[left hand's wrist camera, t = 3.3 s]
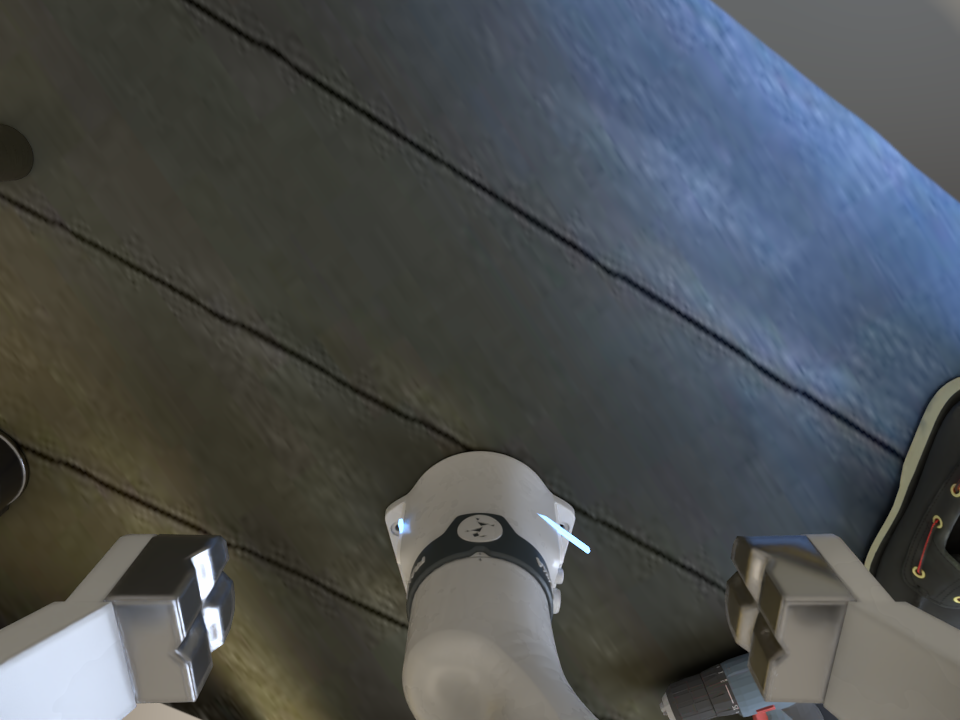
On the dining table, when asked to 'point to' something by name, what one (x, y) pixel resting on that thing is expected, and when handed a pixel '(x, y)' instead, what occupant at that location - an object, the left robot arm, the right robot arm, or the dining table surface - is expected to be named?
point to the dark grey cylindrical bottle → (14, 154)
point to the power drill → (728, 696)
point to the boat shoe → (926, 517)
